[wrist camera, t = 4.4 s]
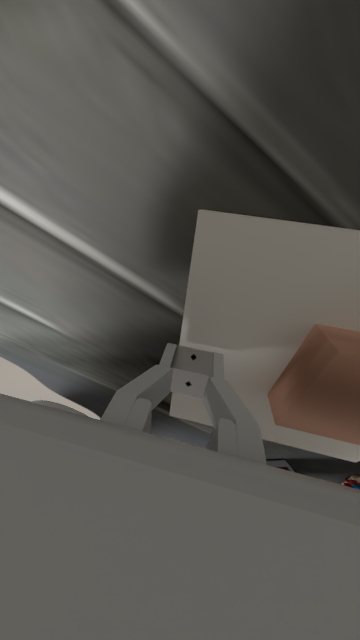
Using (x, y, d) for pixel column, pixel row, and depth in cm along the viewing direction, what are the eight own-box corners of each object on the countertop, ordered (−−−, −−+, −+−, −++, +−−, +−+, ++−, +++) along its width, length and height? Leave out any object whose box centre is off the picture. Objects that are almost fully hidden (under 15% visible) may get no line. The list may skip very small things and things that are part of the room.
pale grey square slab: (335, 425, 17) (355, 462, 14) (175, 387, 18) (169, 415, 16) (555, 256, 8) (716, 278, 5) (203, 209, 9) (198, 209, 7)
